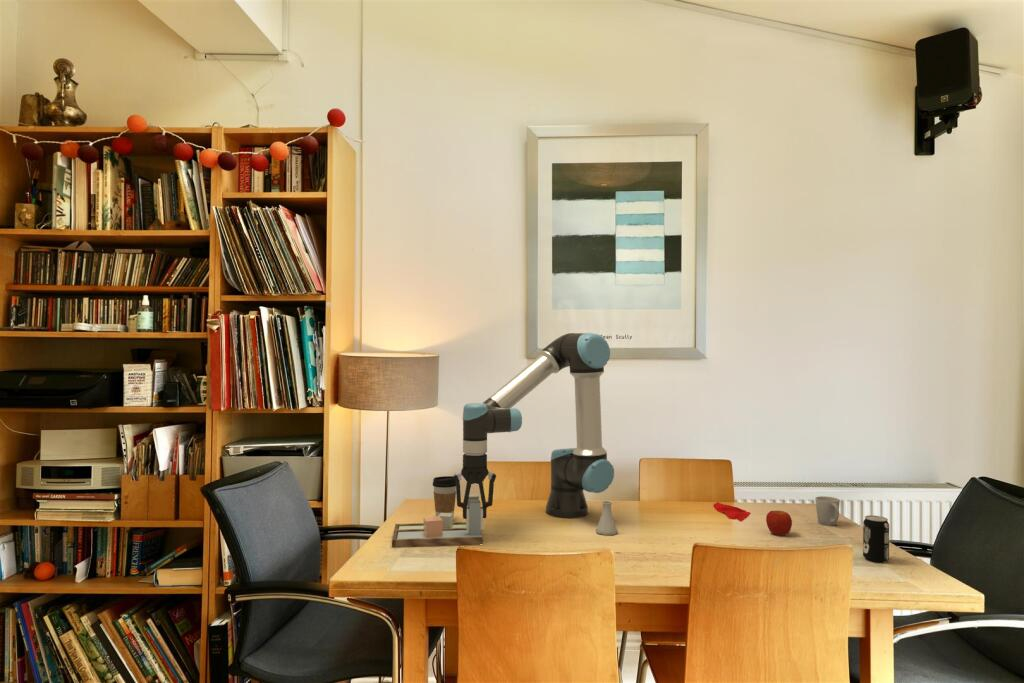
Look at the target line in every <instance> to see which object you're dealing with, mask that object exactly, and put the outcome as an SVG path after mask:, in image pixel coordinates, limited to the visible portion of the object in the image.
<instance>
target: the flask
mask: <svg viewBox="0 0 1024 683" xmlns="http://www.w3.org/2000/svg"><path fill="white" fill-rule="evenodd" d="M601 503H602V512H601V514H600V518H599V520H598V524H597V526H596V529H595V532H596V534H599V535H604V536H615V535H616V534H619V532H618V529H617V526H616V523H615V519H614V517H613V512H612V504H613V502H612V501H611V500H602V502H601Z"/></svg>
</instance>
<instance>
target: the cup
mask: <svg viewBox="0 0 1024 683" xmlns="http://www.w3.org/2000/svg"><path fill="white" fill-rule="evenodd" d="M840 503H841V502H840V499H839V498H837V497H834V496H833V497H832V496H824V495H823V496H821V495H820V496H816V497H815V507H816V508H815V509H816V515H817V516H816V517H817V522H818V524H820V525H822V526H827V527H828V526H830V527H832V526H833V527H834V526H836V525H837V523H838V520H839V517H840V510H839V509H840Z"/></svg>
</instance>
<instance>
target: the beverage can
mask: <svg viewBox="0 0 1024 683" xmlns="http://www.w3.org/2000/svg"><path fill="white" fill-rule="evenodd" d="M862 523H863V524H862V526H863V528H862V530H863V533H862V557H864V559H865V560H866V561H869V562H871V563H876V564H877V563H879V564H883V563H887V562H888V561H889V560H890V523H889V521H888V518H887V517H884V516H881V515H880V516H879V515H874V514H873V515H872V514H871V515H869V514H867V515H865V516H864V520H863V522H862Z"/></svg>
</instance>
